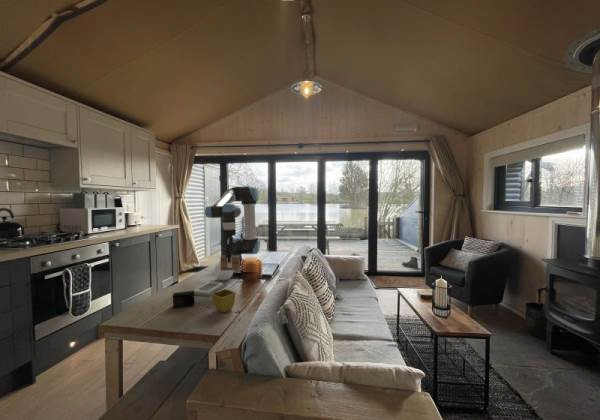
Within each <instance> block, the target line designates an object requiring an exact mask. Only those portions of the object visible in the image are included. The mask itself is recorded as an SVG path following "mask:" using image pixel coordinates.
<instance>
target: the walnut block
mask: <svg viewBox="0 0 600 420" xmlns="http://www.w3.org/2000/svg"><path fill="white" fill-rule="evenodd" d="M226 256H227V255H221V256H220V258H219V259H220V261H219V262H221V271H222V270H234V271H240V269H241V268H240V255H233V256H232V268H227V257H226Z"/></svg>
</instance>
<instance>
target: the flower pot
mask: <svg viewBox="0 0 600 420" xmlns="http://www.w3.org/2000/svg"><path fill="white" fill-rule="evenodd" d="M236 294H237V293H236V291H232V290H229V289H226V288H225V289H224V288H223V289H220V290H219V291H217V292H216V293H213V294H212V295H211V299H212V303H213V306H214V307H215V310H217V312H221V313H222V314H223V313H226V312H228V311H231V310H232V309H233V308H234V305H235V301H236Z"/></svg>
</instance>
